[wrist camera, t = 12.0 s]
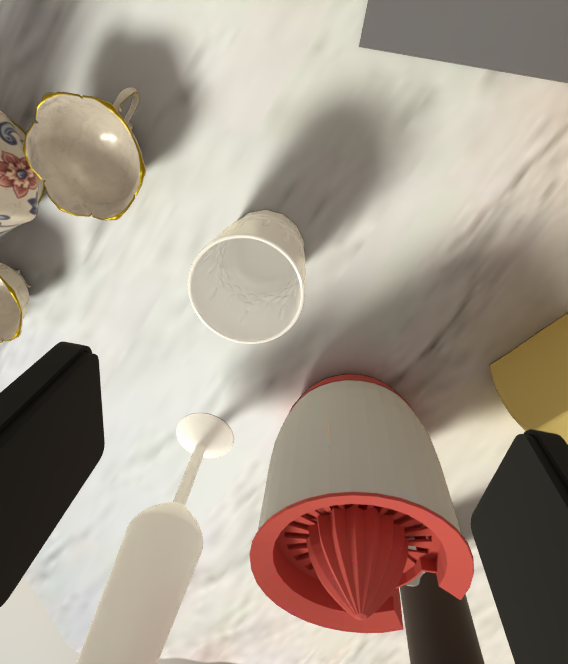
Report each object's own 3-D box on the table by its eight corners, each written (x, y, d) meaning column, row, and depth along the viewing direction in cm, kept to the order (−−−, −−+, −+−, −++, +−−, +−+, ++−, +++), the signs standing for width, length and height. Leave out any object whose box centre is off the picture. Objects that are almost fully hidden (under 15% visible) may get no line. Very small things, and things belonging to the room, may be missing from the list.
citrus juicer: (366, 498, 50) (384, 710, 32) (248, 421, 46) (196, 613, 29) (471, 422, 43) (565, 637, 26) (342, 325, 40) (351, 498, 22)
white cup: (243, 184, 35) (213, 211, 26) (327, 230, 36) (326, 270, 27) (208, 265, 38) (171, 313, 29) (286, 304, 39) (272, 361, 30)
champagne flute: (216, 406, 46) (117, 662, 25) (244, 450, 48) (175, 715, 27) (165, 422, 48) (31, 673, 26) (194, 464, 50) (94, 722, 29)
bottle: (383, 545, 54) (408, 758, 36) (410, 513, 50) (451, 730, 33) (431, 562, 54) (478, 780, 37) (460, 531, 51) (528, 754, 33)
